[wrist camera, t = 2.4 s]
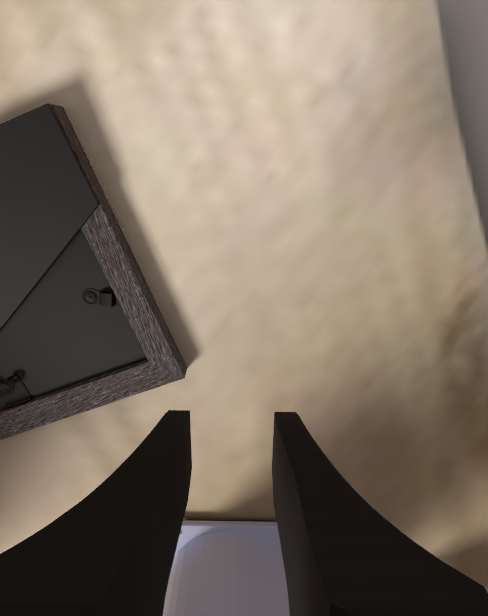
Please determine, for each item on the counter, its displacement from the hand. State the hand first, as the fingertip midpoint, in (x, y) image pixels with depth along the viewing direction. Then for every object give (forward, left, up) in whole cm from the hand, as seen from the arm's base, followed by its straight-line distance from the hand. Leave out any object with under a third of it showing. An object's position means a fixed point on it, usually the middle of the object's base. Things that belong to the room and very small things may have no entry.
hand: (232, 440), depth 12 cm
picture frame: (+14, 0, -10) cm, 17 cm away
